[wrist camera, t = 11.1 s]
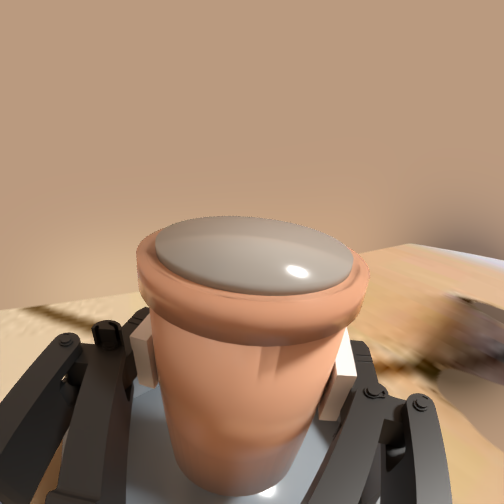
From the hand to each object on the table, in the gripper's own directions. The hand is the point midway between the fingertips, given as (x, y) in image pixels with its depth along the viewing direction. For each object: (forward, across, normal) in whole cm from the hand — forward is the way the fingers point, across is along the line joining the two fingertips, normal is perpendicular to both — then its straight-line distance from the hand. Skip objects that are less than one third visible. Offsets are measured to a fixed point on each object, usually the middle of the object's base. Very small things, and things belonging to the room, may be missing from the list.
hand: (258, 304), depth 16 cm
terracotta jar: (-5, 0, -7) cm, 9 cm away
